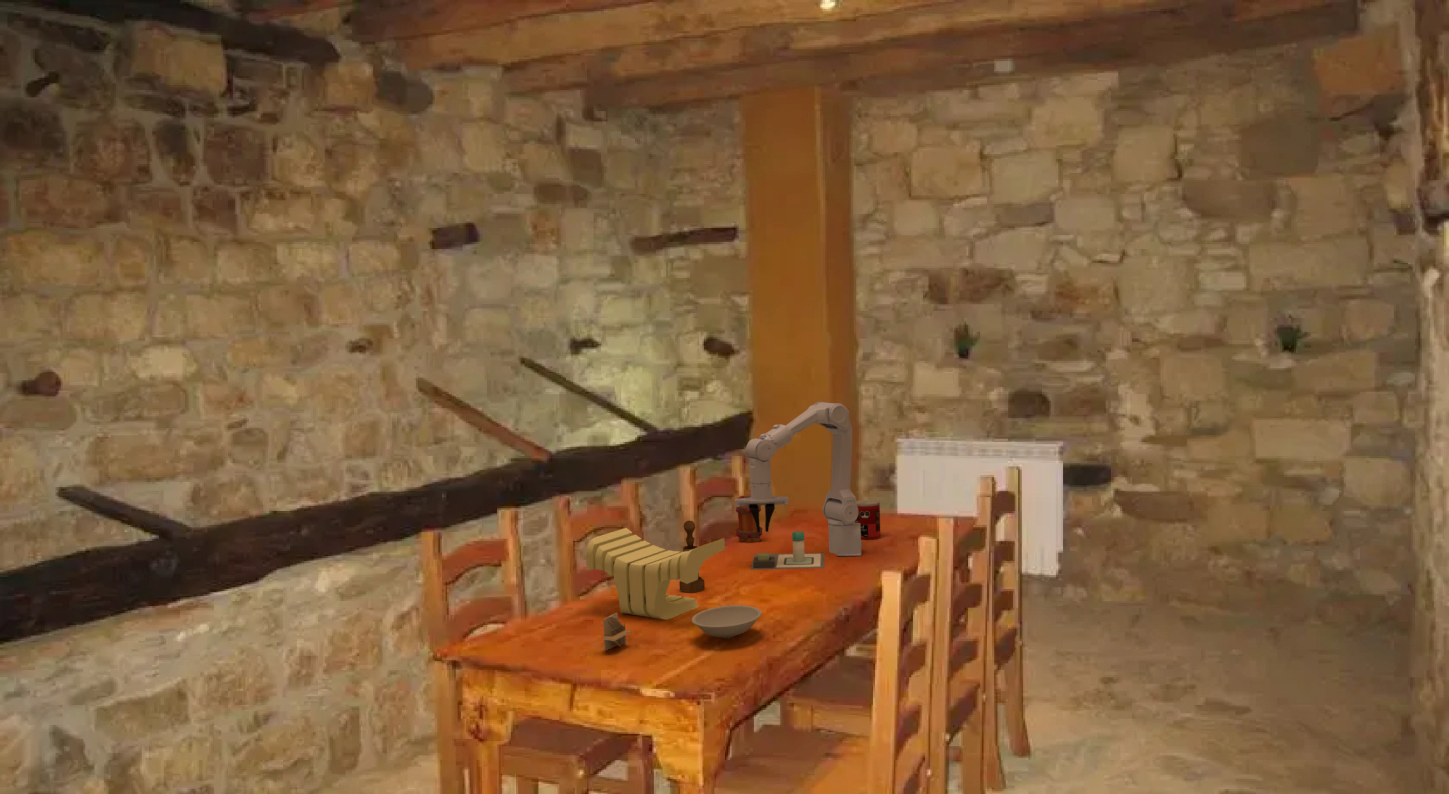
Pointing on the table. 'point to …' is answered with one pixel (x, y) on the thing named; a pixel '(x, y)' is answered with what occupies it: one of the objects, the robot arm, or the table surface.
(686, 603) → the slatted curved stool
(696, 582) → the brown tall knobbed piece
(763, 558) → the button
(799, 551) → the marker
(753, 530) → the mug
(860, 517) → the canned food
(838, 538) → the robot arm
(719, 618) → the dish
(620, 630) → the architectural model
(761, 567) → the colouring board
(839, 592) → the table surface
